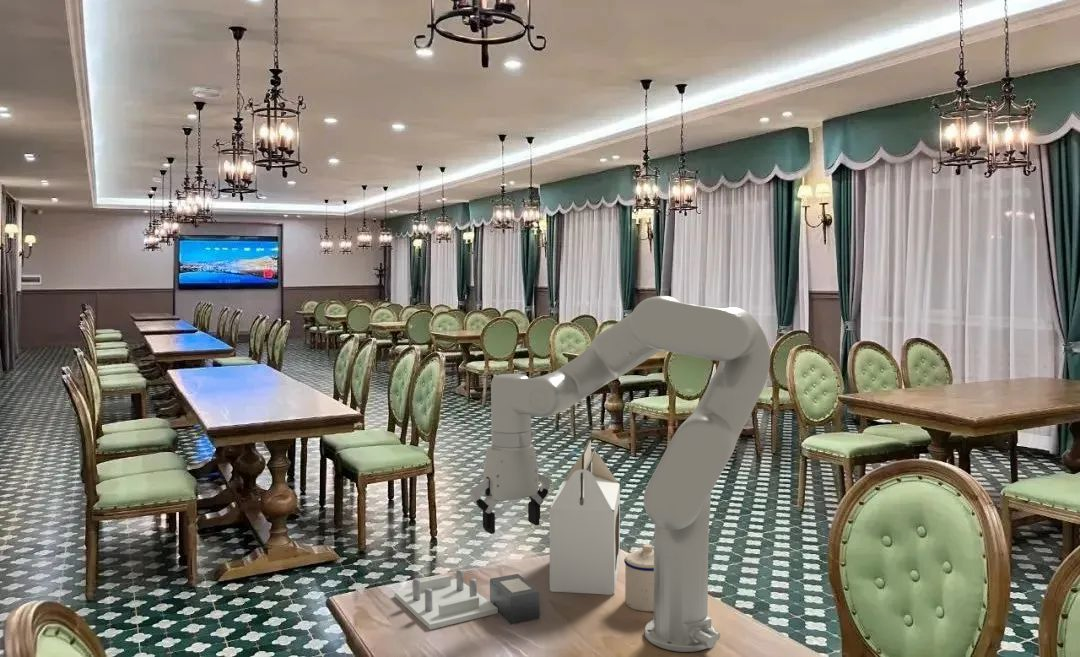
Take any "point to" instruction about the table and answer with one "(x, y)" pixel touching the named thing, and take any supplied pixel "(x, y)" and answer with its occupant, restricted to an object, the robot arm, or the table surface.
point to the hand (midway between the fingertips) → (512, 527)
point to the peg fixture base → (445, 601)
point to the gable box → (585, 529)
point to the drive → (515, 598)
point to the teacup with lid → (640, 579)
